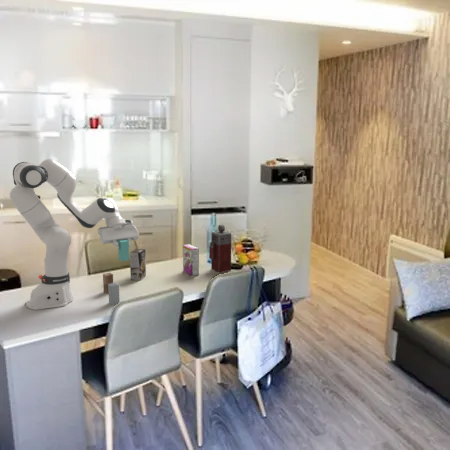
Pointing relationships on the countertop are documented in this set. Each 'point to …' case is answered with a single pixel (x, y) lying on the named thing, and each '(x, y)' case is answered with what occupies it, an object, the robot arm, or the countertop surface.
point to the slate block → (113, 293)
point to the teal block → (123, 250)
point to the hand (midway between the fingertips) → (124, 247)
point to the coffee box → (138, 264)
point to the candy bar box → (191, 259)
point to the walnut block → (107, 281)
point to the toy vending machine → (220, 250)
